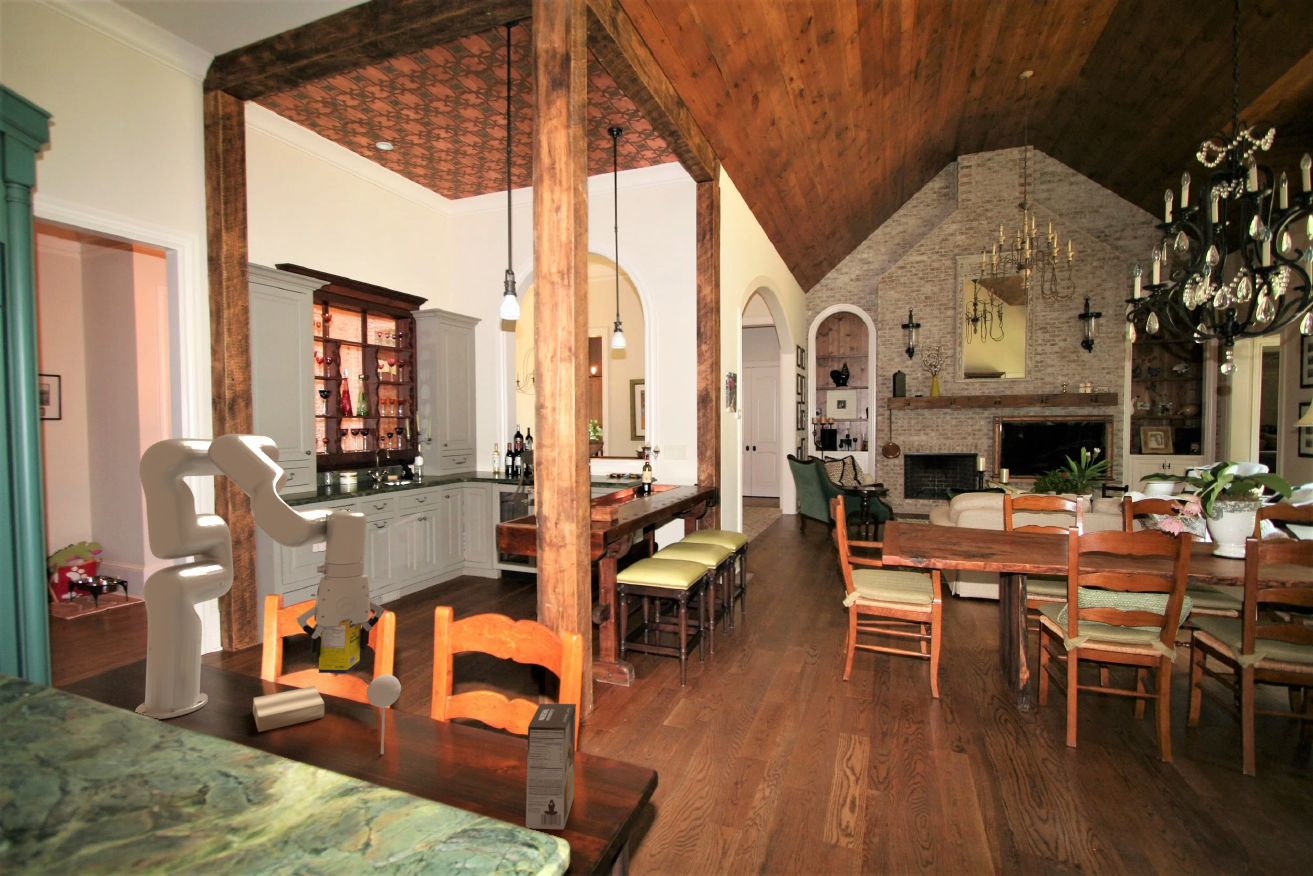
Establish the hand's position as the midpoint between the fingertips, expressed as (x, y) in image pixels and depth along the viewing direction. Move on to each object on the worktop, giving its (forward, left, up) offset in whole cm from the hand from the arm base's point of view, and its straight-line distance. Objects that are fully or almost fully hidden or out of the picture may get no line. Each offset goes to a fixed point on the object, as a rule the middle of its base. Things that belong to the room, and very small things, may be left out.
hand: (340, 651), depth 129 cm
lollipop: (+18, +4, -16) cm, 25 cm away
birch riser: (-12, -8, -15) cm, 21 cm away
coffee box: (+54, +21, -16) cm, 60 cm away
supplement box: (0, 0, -4) cm, 4 cm away
